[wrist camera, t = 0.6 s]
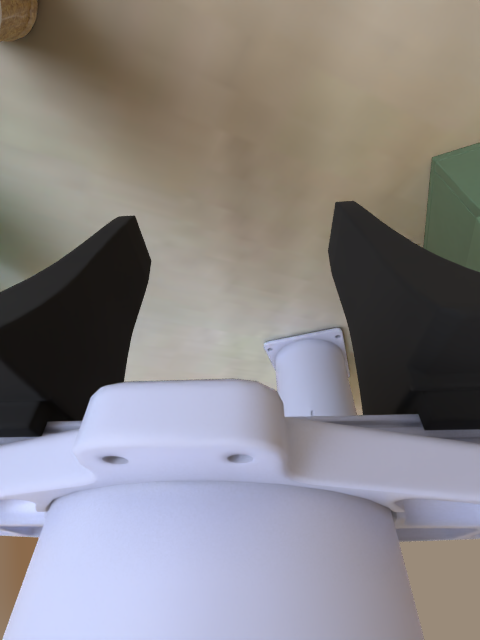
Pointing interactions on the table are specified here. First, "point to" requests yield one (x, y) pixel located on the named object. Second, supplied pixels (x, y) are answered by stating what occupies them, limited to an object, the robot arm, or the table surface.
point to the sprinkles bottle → (16, 18)
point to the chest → (453, 203)
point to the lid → (474, 248)
